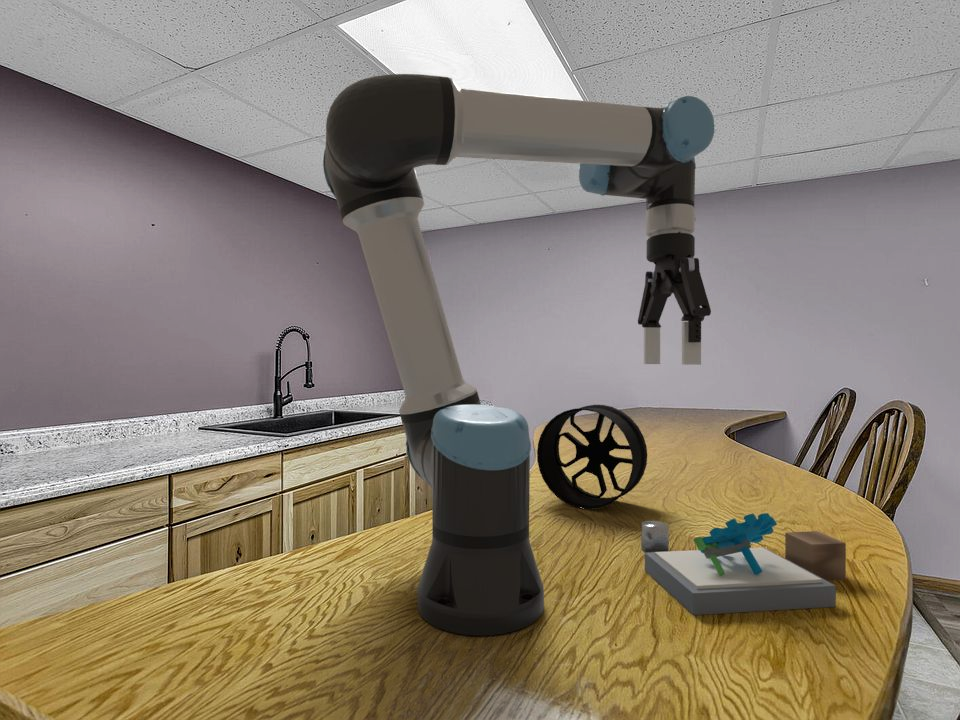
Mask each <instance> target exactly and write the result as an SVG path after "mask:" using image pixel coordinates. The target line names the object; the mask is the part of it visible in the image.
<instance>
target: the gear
mask: <svg viewBox="0 0 960 720" xmlns="http://www.w3.org/2000/svg"><path fill="white" fill-rule="evenodd" d="M743 520H744V521H743V522H737V520H736V518H732V519H730V520H727V521H726V522H725V525H726V527H722V528H720V527H714V528H712V529H711V530H710V531H709V536H704V537H701V536H697V537H696V538H693V541H694V544H695V545H696V548H697V550H699V551H701V553H703V554H704V555H705V557H706V558H707V559H709V558H711V560H712V562H713V564H714V566H715V568H716V570H717V572H718V574H719V575H723V574H725V572H724V570H723V568H722V566H721V564H720V563H719V561H718V559H717V557H719V556H724V555H729V554H733V553H738V552H742V553H743V555H744V557H745V559H746V560H747V562H748V564H749V566H750V567H751V569H752V571H753V573H754V574H755V575H756V574H760V573H761V572H762V569H761V568H760V566H759V564H758V563H757V561H756V559H755V557H754V556H753V554H752V552H751V551H750V549H749V548H752V545H751V543H753V544H759V543H760V542H761V541H763V540H764V537H763V536H766V535H767V536H768V535H770V534H773V532H774V528H773V527H775V526H777V525H778V523H777V522H776V520H775V518H774V517H772V516H770V514H769V513H767V512H765V513H764V512H763V513H760V514H759V515H758V516H757V517H756V515H755V514H754V513H750V514H745V515H744V516H743Z"/></svg>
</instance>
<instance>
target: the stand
mask: <svg viewBox="0 0 960 720" xmlns="http://www.w3.org/2000/svg"><path fill="white" fill-rule="evenodd" d="M749 549H750V551H751V552H752V554H753V556H754V557H755V559H756V561H757V563H758V564H759V566H760V568H761V569H762V572H761V573H760V574H756V575H755V574H754V573H753V571H752V569H751V567H750V566H749V564H748V562H747V560H746V559H745V557H744V555H743V553H742V552H738V553H733V554H729V555H724V556H719V557H717V559H718V561H719V563H720V564H721V566H722V568H723V570H724V572H725V574H723V575H719V574H718V572H717V570H716V568H715V566H714V564H713V562H712V560H711V558H709V559H707V558H706V557H705V555H704V554H703V553H701V551H699V550H698V549H694V550H672V551H667V552H648V553H645V552H644V571H645V572H646V573H647V574H648V575H649V576H650V577H651V578H652V579H654V580H655V582H657V584H658V585H660V586H661V587H662V588H663V589H664V590H665V591H666V592H668V593H669V595H671V597H673V598H674V599H675V600H676V601H677V602H679V603H680V604H681V605H682V606H683V607H684V608H685V609H686V611H688V612H689V613H690V614H691V615H692V616H701V615H714V614H715V615H716V614H734V613H750V612H751V613H753V612H764V611H765V612H766V611H767V612H769V611H771V612H772V611H784V610H801V609H819V608H833V607H834V608H836V607H837V603H836V602H837V599H836V598H837V593H836V592H837V589H836V588H837V587H836V585H835V584H833V583H831V582H830V581H826V580H824V579H822V578H821V577H819V576H817V575H815V574H813V573H811V572H809V571H808V570H806V569H804V568H802V567H800V566H798V565H796V564H794V563H793V562H791V561H789V560H787V559H785V557H783V556H781V555H779V554H777V553H776V552H774V551H772V550H770V549H769V548H766V547H751V548H749Z"/></svg>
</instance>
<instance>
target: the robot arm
mask: <svg viewBox="0 0 960 720" xmlns="http://www.w3.org/2000/svg"><path fill="white" fill-rule="evenodd" d="M325 122H326V123H325V135H326V136H325V149H324V152H323V160H322V167H323V174H324V178H325V182H326V184H327V186H328V188H329V189H330V192H331V194H332V195H333V196H334V198H335V200H336V203H337V207H338V210H339V212H340V217H341V219H342V223H343V225H344V226H346V227H347V228H350V230H352V231H354V232H355V233H356V234H357V236H358V239H359V242H360V246H361V249H362V253H363V256H364V259H365V262H366V266H367V269H368V272H369V276H370V280H371V282H372V286H373V291H374V294H375V298H376V301H377V303H378V307H379V310H380V313H381V317H382V320H383V325H384V327H385V330H386V334H387V337H388V340H389V344H390V347H391V351H392V355H393V358H394V361H395V364H396V369H397V372H398V375H399V378H400V381H401V385H402V388H403V392H404V396H405V398H404V400H403V402H402V404H401V405H400V408H399V409H398V413H399V416H400V419H401V423H402V426H403V430H404V435H405V437H406V438H405V439H406V442H405V447H406V451H405V452H406V456H407V460H409V461H408V462H409V464H410V466H411V467H412V469H413V470H414V472H415V474H417V475H418V477H420V478H421V480H423V481H425V483H426V484H428V486H430V487H431V491H432V493H431V494H432V497H431V498H432V506H431V507H432V517H431V518H432V520H431V522H432V527H431V528H432V529H431V530H432V535H431V536H432V540H431V544H430V547H429V550H428V553H427V555H426V556H427V557H426V560H425V563H424V567H423V569H422V573H421V576H420V579H419V581H418V585H417V586H418V587H417V611H418V613H419V614H420V615H419V616H421V618H423V619H424V620H425V621H426V622H427V623H428V624H430V625H432V626H434V627H436V628H437V629H441V630H443V631H446V632H450V633H455V634H458V635H459V634H460V635H465V636H466V635H468V636H495V635H503V634H508V633H513V632H516V631H518V630H522V629H524V628H527V627H528V626H530V625H531V624H534V623H535V622H536V621H537V620H538V619H539V618H540V617H541V616H542V615H543V612H544V608H545V590H544V584H543V581H542V577H541V574H540V571H539V567H538V564H537V561H536V558H535V555H534V551H533V549H532V546H531V545H532V544H531V542H530V481H531V479H530V477H531V476H530V475H531V473H530V472H531V471H530V470H531V469H530V465H531V464H530V461H531V456H530V454H531V451H532V450H531V449H532V441H531V438H530V431H529V430H530V429H529V423H528V421H527V419H526V418H525V416H524V415H522V414H521V413H519V412H517V411H516V410H513V409H511V408H507V407H503V406H502V407H498V406H496V405H491V404H488V405H487V404H482V403H481V400H480V397H479V392H478V389H477V387H476V386H473V385H472V384H470V383H468V382H467V381H465V380H464V378H463V374H462V370H461V367H460V364H459V363H460V362H459V361H458V356H457V353H456V350H455V346H454V343H453V339H452V335H451V331H450V328H449V324H448V321H447V319H446V314H445V312H444V308H443V304H442V301H441V297H440V293H439V289H438V285H437V284H436V283H437V282H436V279H435V276H434V271H433V268H432V265H431V261H430V259H429V254H428V251H427V248H426V244H425V239H424V236H423V234H422V233H423V232H422V230H421V226H420V223H419V215H420V213H421V211H422V209H423V207H424V205H425V202H424V201H425V200H424V197H423V194H422V190H421V186H420V183H419V180H418V175H417V172H416V168H418V167H422V166H428V165H429V166H431V165H432V166H433V165H434V166H435V165H436V166H437V165H438V166H448V165H449V164H450V163H451V162H452V161H453V160H454V159H455V158H468V159H469V158H470V159H486V160H487V159H489V160H504V161H505V160H507V161H508V160H509V161H525V162H526V161H527V162H544V163H545V162H546V163H564V164H567V163H568V164H578V165H579V166H578V181H579V184H580V186H581V188H582V190H584V191H585V192H587V193H591V194H594V195H595V194H596V195H600V196H602V197H604V196H613V197H623V198H632V199H643V200H645V204H646V205H645V206H646V212H645V214H646V215H645V219H646V220H645V229H646V230H645V234H646V236H647V237H648V239H647V240H646V260H647V261H648V262H649V263H652V264H654V265H655V266H654V271H646V272H645V277H644V278H645V279H644V287H643V294H642V299H641V301H640V302H641V303H640V308H639V312H638V319H637V324H638V325H640V326H641V327H642V328H643V364H644V365H660V364H661V328H662V325H661V323H660V320H661V317H662V315H663V311H664V310H665V306H666V303H667V300H668V298H670V297H671V296H672V294H673V296H674V298H675V301H676V303H677V304H678V306H679V309H680V310H681V313H682V315H683V316H682V317H681V319H680V321H681V365H683V366H684V365H685V366H686V365H687V366H688V365H689V366H690V365H694V366H695V365H702V322H703V321H704V320H705V317H709V316H711V313H712V310H711V305H710V303H709V298H708V295H707V292H706V289H705V288H706V287H705V285H704V281H703V279H702V275H701V274H702V273H701V272H700V271H701V269H700V260H699V258H698V257H695V253H696V251H695V249H696V248H695V241H696V240H695V239H696V238H695V236H694V235H693V233H694V232H695V222H696V216H695V190H696V187H695V185H696V182H695V181H696V160H695V158H696V156H697V155H699V154H701V153H703V152H704V151H705V150H706V149H707V148H708V147H709V146H710V145H711V142H712V141H713V138H714V136H715V118H714V115H713V113H712V111H711V109H710V107H709V106H708V105H707V103H706V102H704V101H703V100H702V99H701V98H699V97H696V96H693V95H684V96H681V97H679V98H677V99H675V100H672V101H670V102H669V103H667V104H666V105H665V106H664V107H650V106H638V105H630V104H629V105H628V104H619V103H609V102H601V101H600V102H599V101H589V100H581V99H579V100H577V99H569V98H561V97H560V98H558V97H550V96H549V97H547V96H539V95H528V94H521V93H520V94H518V93H511V92H510V93H509V92H499V91H490V90H489V91H488V90H480V89H469V88H460V87H459V86H458V84H457V83H456V82H455V81H454V80H453V78H452V77H449V76H439V75H430V74H429V75H428V74H419V73H417V74H416V73H391V74H382V75H375V76H371V77H366V78H363V79H360V80H358V81H356V82H353V83H351V84H350V85H348V86H346V87H345V88H344V89H343V90H342V91H341V92H340V93H339V94H338V95H337V97H336V98H335V99H334V100H333V101H332V104H331V105H330V108H329V111H328V114H327V117H326V121H325Z"/></svg>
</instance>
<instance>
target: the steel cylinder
mask: <svg viewBox="0 0 960 720" xmlns="http://www.w3.org/2000/svg"><path fill="white" fill-rule="evenodd" d="M640 526H641V529H640V531H641V535H640V536H641V546H640V547H641V551H642V552H643V553H644V554H645V553H648V552H667V551H669V550H670V549H669V545H670V544H669V542H670V541H669V531H670V529H669V524H667V523H665V522H663V521H659V520H658V521H657V520H645V521H642V522H641V525H640Z"/></svg>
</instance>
